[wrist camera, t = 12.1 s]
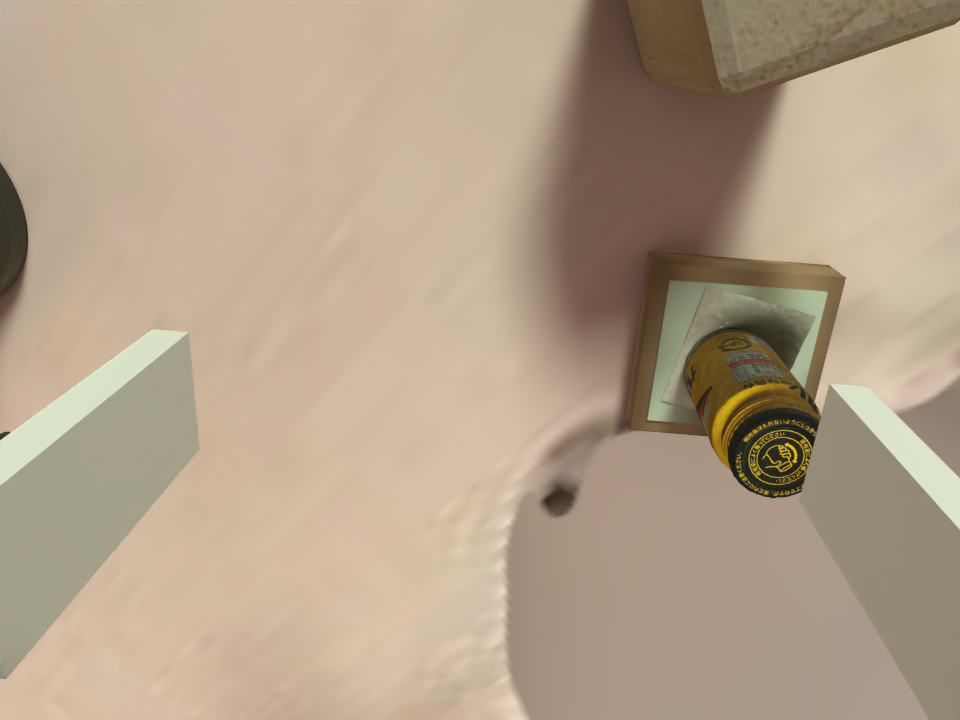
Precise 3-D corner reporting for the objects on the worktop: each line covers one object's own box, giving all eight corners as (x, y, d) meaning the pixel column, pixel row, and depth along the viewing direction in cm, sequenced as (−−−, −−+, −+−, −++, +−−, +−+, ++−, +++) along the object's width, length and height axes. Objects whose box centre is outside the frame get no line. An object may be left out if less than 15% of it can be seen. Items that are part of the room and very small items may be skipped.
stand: (625, 411, 56) (630, 431, 53) (649, 252, 51) (656, 264, 48) (790, 424, 55) (805, 446, 52) (828, 265, 51) (847, 278, 48)
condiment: (661, 399, 52) (695, 494, 41) (706, 284, 48) (758, 353, 37) (762, 427, 52) (824, 528, 41) (814, 314, 49) (897, 392, 38)
